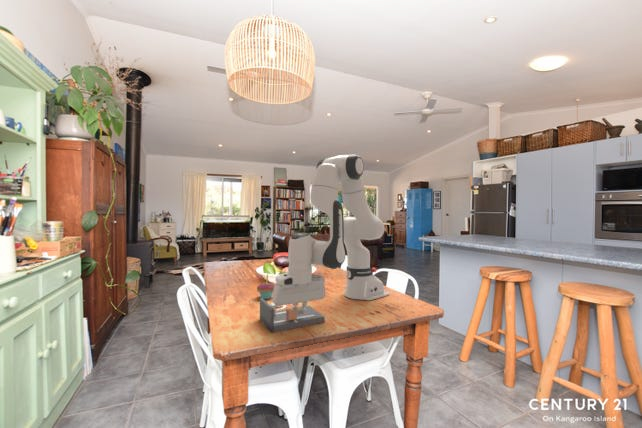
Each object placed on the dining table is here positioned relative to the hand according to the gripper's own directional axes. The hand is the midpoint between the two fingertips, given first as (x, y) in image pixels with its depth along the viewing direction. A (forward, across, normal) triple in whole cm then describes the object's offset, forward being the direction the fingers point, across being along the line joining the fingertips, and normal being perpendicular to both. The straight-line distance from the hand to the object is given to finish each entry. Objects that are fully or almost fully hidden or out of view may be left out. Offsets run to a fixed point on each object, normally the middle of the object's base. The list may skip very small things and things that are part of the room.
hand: (299, 313), depth 107 cm
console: (+4, +2, -4) cm, 6 cm away
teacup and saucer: (+4, +4, -24) cm, 24 cm away
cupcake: (+4, +2, -36) cm, 36 cm away
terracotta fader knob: (+1, +3, 0) cm, 4 cm away
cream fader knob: (+1, +9, -8) cm, 12 cm away
